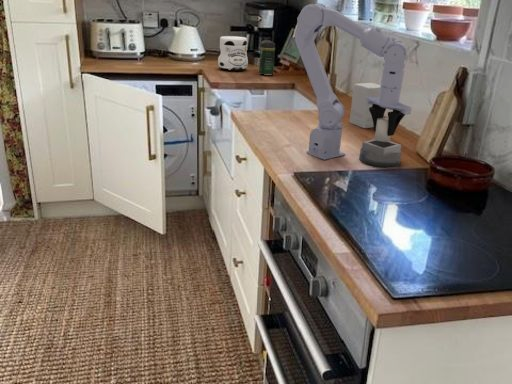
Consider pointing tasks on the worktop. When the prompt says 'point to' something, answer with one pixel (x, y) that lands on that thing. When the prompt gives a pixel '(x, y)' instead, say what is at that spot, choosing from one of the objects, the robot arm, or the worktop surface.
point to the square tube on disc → (380, 154)
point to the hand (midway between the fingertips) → (383, 133)
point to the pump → (382, 130)
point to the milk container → (233, 53)
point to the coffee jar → (267, 57)
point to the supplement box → (363, 104)
